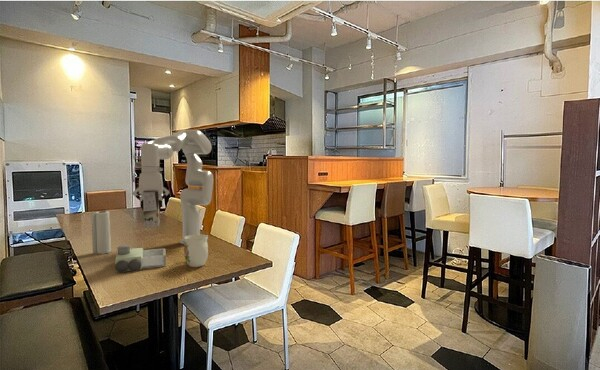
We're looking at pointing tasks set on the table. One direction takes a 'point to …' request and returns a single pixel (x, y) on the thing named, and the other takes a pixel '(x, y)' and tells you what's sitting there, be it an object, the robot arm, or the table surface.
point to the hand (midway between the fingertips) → (151, 208)
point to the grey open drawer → (153, 258)
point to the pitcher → (196, 250)
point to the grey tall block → (101, 232)
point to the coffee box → (151, 208)
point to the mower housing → (128, 259)
